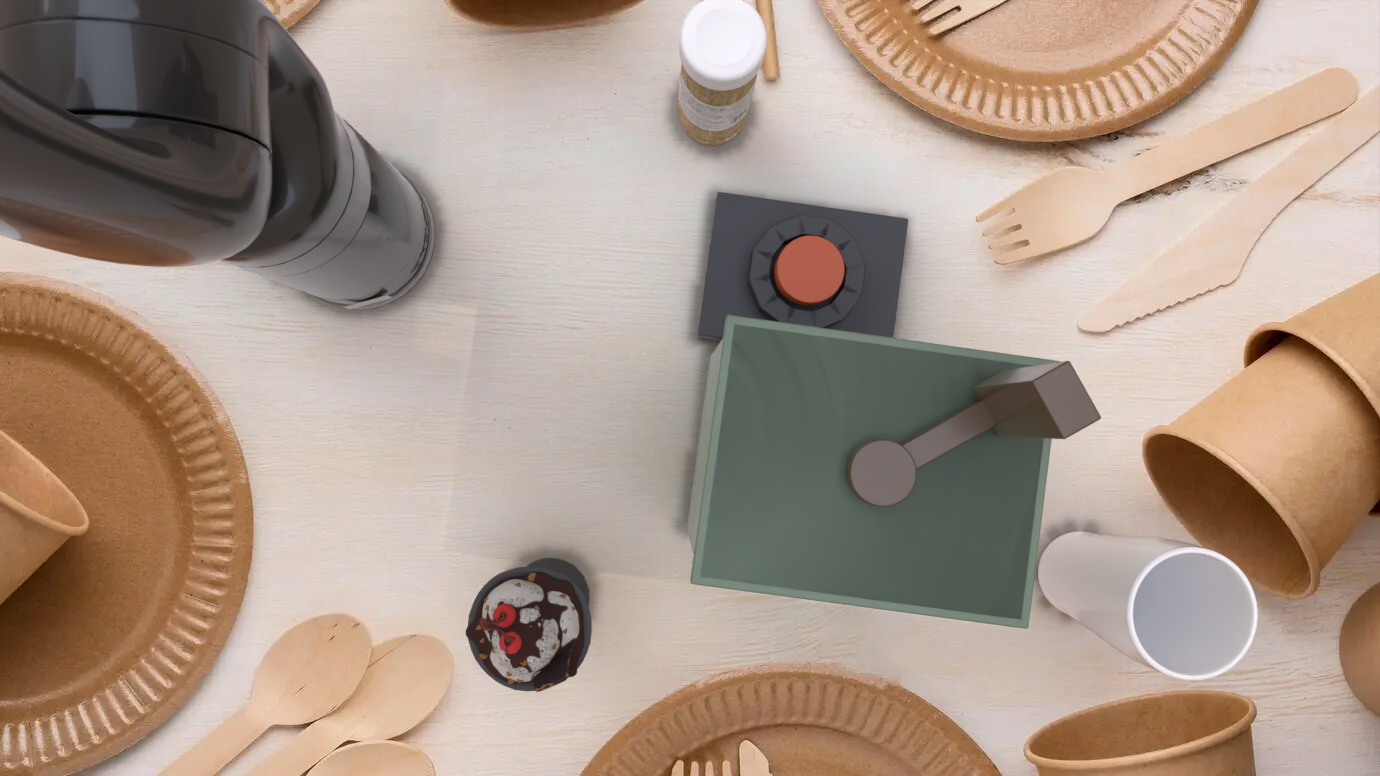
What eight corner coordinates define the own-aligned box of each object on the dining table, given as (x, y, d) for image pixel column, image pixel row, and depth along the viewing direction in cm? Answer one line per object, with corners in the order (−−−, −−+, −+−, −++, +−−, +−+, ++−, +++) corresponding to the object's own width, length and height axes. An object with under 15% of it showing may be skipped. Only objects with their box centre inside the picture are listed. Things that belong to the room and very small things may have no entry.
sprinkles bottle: (717, 63, 68) (730, -26, 54) (762, 117, 68) (786, 42, 54) (662, 107, 68) (661, 29, 54) (707, 162, 68) (717, 97, 54)
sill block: (681, 531, 67) (690, 584, 45) (706, 350, 67) (727, 314, 45) (909, 562, 67) (1028, 629, 45) (932, 381, 67) (1062, 361, 45)
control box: (696, 337, 67) (699, 332, 63) (715, 199, 68) (719, 184, 64) (882, 363, 67) (896, 359, 63) (900, 225, 68) (915, 212, 64)
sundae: (497, 543, 66) (449, 578, 51) (604, 546, 67) (587, 582, 52) (493, 648, 66) (444, 714, 51) (600, 651, 66) (582, 718, 51)
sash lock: (866, 516, 45) (906, 535, 37) (833, 459, 45) (868, 466, 37) (1032, 423, 45) (1105, 423, 38) (1000, 366, 45) (1067, 354, 38)
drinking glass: (1054, 644, 67) (1166, 707, 52) (1004, 549, 67) (1102, 585, 52) (1147, 594, 67) (1285, 643, 52) (1097, 500, 67) (1220, 521, 52)
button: (769, 301, 64) (772, 297, 62) (778, 236, 64) (781, 230, 62) (835, 310, 64) (840, 307, 62) (843, 245, 64) (848, 240, 62)
